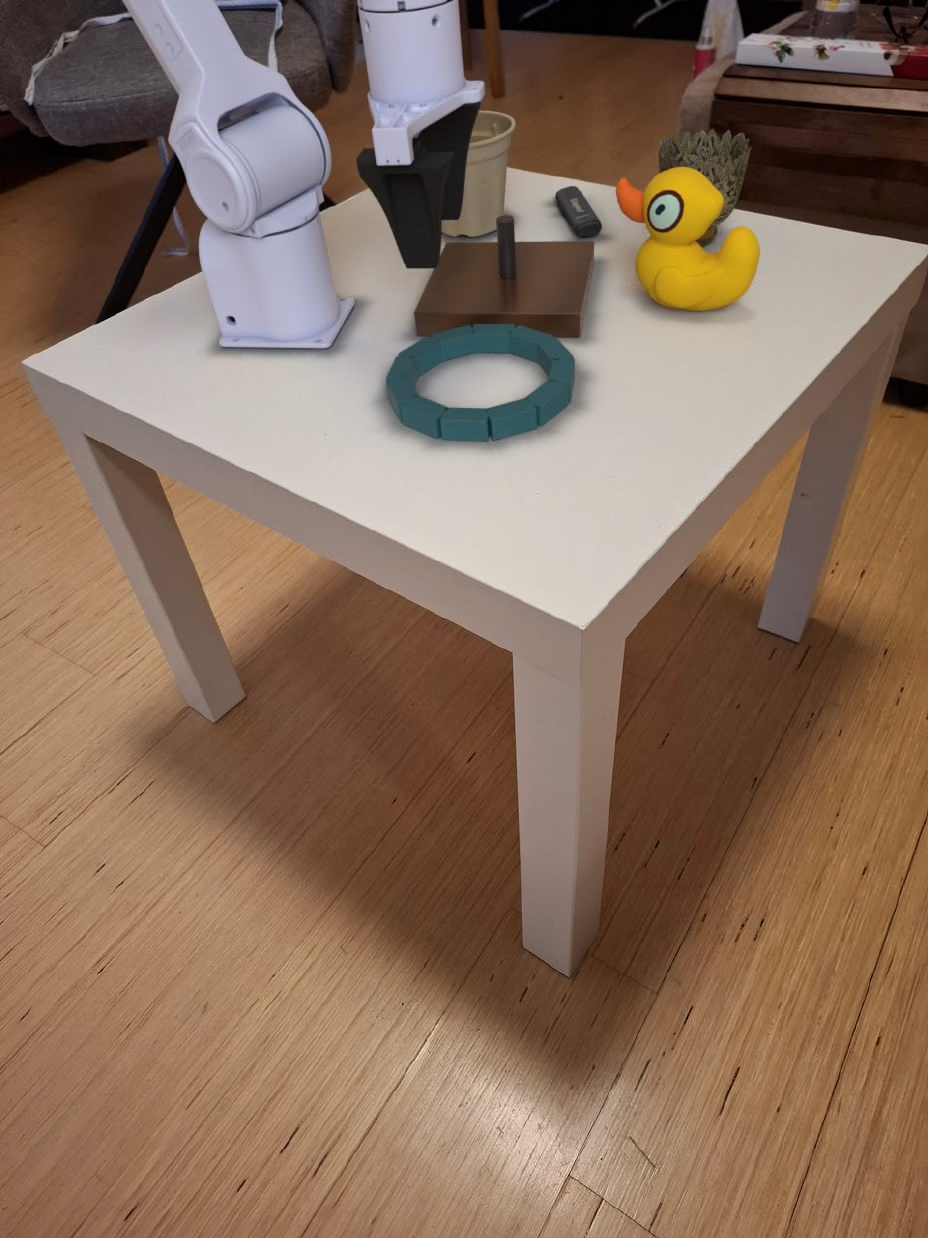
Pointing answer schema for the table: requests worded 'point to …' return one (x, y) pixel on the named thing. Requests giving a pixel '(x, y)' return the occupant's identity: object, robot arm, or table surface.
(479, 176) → the flower pot
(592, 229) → the usb stick
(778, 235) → the table surface
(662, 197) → the duckling
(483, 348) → the teal segmented ring
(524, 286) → the ring toss peg base
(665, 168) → the cup
